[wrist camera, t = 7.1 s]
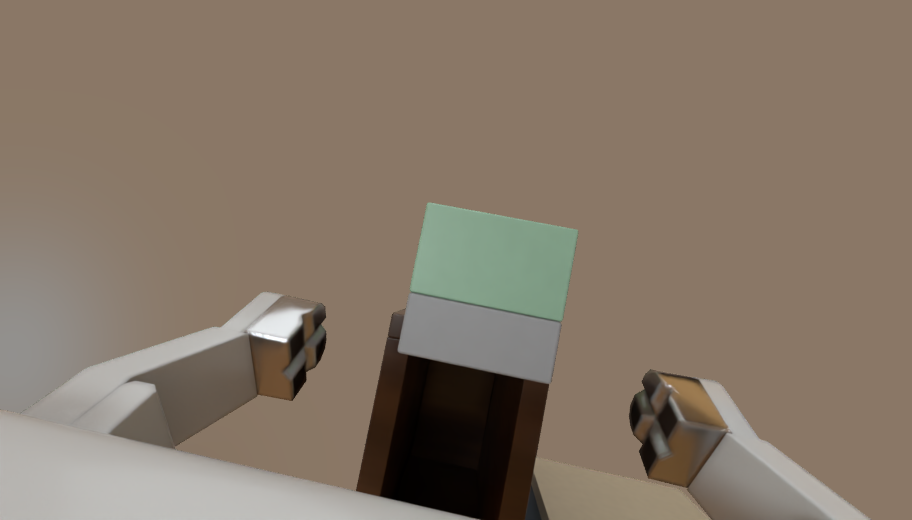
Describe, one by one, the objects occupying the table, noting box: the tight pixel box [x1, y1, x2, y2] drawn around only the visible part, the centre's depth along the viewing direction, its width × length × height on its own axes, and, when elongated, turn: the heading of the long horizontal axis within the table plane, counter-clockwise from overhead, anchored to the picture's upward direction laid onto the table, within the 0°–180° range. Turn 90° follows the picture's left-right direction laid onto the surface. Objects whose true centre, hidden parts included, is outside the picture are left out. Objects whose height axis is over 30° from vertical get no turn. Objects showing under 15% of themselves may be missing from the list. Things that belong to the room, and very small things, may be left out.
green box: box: [398, 203, 578, 384], centre depth 20 cm, size 22×4×4 cm, turn 176°
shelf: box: [356, 308, 549, 520], centre depth 24 cm, size 14×8×26 cm, turn 176°
